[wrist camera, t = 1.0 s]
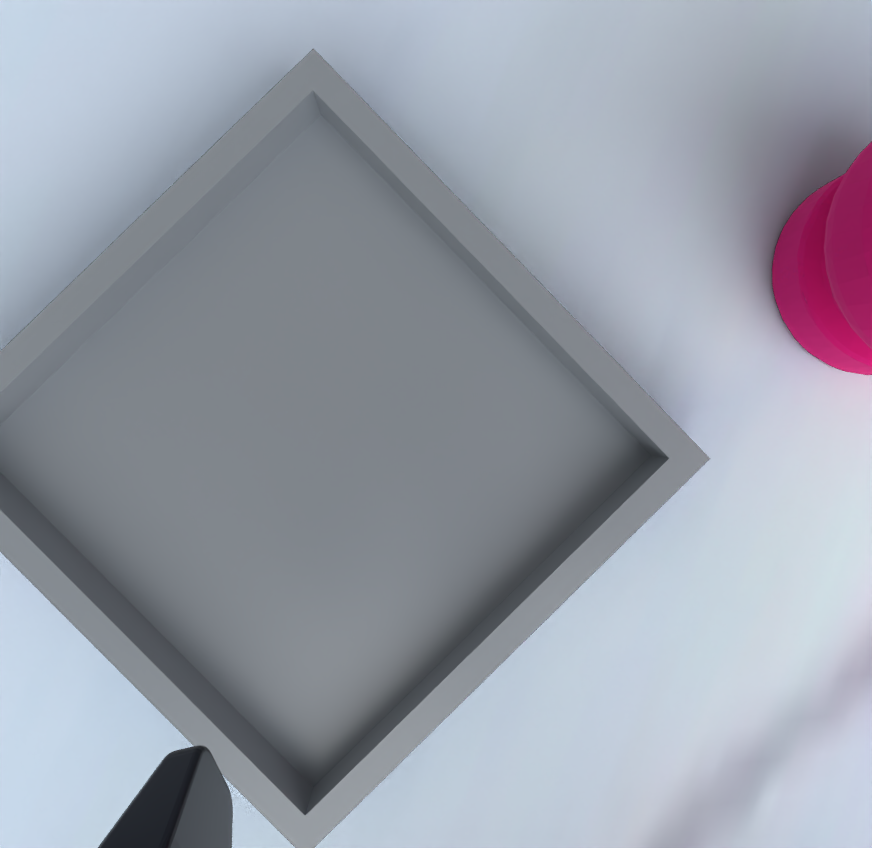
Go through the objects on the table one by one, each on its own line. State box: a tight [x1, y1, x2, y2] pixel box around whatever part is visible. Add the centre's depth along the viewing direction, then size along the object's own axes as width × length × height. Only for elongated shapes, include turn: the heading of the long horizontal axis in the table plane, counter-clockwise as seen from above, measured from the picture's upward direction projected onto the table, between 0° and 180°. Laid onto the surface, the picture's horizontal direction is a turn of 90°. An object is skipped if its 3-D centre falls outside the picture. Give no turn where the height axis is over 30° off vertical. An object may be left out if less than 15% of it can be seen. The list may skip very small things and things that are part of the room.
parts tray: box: [0, 49, 710, 848], centre depth 20 cm, size 16×16×2 cm
